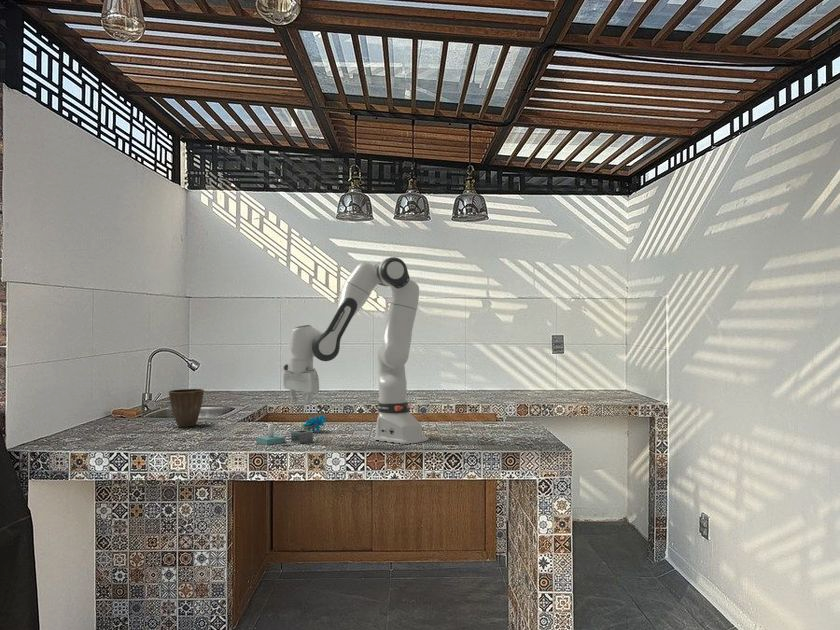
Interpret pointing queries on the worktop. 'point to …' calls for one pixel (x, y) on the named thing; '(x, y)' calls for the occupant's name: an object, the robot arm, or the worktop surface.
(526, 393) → the worktop surface
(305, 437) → the collar
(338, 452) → the worktop surface
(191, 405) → the plant pot
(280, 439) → the shaft block
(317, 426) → the blue toy dinosaur
